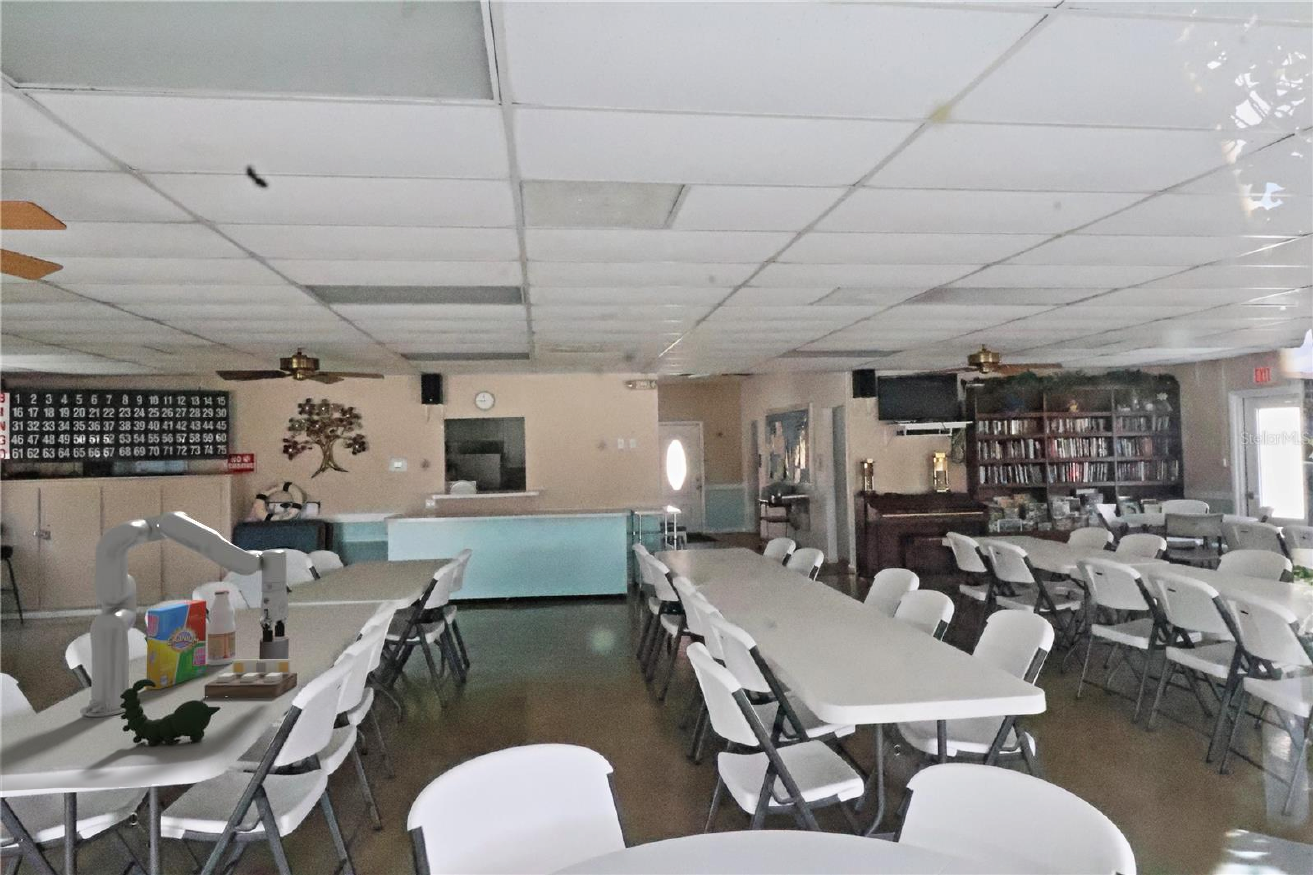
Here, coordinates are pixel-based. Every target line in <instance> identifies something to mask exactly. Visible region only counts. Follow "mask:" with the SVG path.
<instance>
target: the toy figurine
mask: <svg viewBox="0 0 1313 875" xmlns="http://www.w3.org/2000/svg"><path fill="white" fill-rule="evenodd" d="M146 686H152V687H156V684H155V683H154V682H153V681H151V680H149V679H146V678H144V679H139V680H137V681H136V682H134V683H133V685H132V687H130V688H129V689H127V690H126V691H125V692H124V693H123V694H121V696H120V698H122V699H124V700H125V701H124V703H122V704H121V705H120V707H121V708H125V709H126V712H124V713H123V714H121V716H120V719H121V720H127V724H125V725H124V726H123V727H122V731H123V732H125V733H127V732H129V731H133V732H134V733H135V737H133V738H132V742H133V743H134V744H140V742H142V741H143V740H146V741H147V744H148V746H149V747H151V746H152V747H155V746H156V745H157V742H158V743H159V742H163V743H164V744H165V745H171V744H172V743H174V742H175V739H179V738H181V737H189V739H190V740H189V741H191V742H193V743H197V742H200V741H201V740H202V739H203V738H204V736H205V731H204V730H205V729H207V727H208V726H209V724H210V722H211V718H212V716H214V714H216V713H217V712H218V711H220V710H221V707H220V706H209V705H208V704H207V703H206V702H203V701H201V700H196V699H194V700H193V699H192V700H187V701H185V702H184V703H182V704H180V705H179V706H178V707H177V708H176V709H175V710H174V711H173V713H170V714H167V715H165V716H164V717H163V718H156V719H154V720H153V719H148V716H147V715H146V714H144V708H143V707H142V706H141V699H140V697H139V696H138V695H139V692H140V691H141V690H142V689H144V688H146ZM155 744H156V745H155ZM154 745H155V746H154Z"/></svg>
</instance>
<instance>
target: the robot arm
mask: <svg viewBox="0 0 1313 875" xmlns="http://www.w3.org/2000/svg"><path fill="white" fill-rule="evenodd" d="M167 539H168V540H170V541H172V542H174V543H177V544H179V545H181V546H183V547H185V548H187V549H189V550H191V551H194V552H196V553H197V554H199V555H200V556H202V557H204V558H206V559H208V560H210V561H211V562H213V563H215V564H217V565H219V566H220V567H222V568H225V569H226V570H229V571H230V572H233V573H234V574H237V575H240V576H244V577H245V576H251V575H253V574H255V573H256V572H260V571H261V592H262V594H261V601H260V602H261V603H260V619H259V624H260V627H261V631H262V638H263V642H273V636H275V637H284V636H286V633H285V629H286V628H285V626H286V620H287V617H288V616H289V598H288V592H287V591H288V590H287V552H286V551H285V550H283V549H271V550H269V549H268V550H244V549H242V548H240V547H238V546H236V545H234V544H233V543H231V542H229V541H228V540H227V539H225V538H224V537H223V536H222V535H221V534H220V533H219V532H218V531H216V530H214V529H212V528H211V527H208V526H206V525H204V524H202V523H201V522H198V521H197V520H194V519H192V518H191V517H190V516H189V515H188V514H187V512H184V511H182V510H181V511H180V510H175V511H173V510H172V511H170V512H165V513H162V514H157V515H151V516H146V517H141V518H135V519H130V520H127V521H123V522H121V523H118V524H116V525H114V526H113V527H110V528H109V529H107V530H106V531H105V532H104V533H103V534H102V535H101V536H100V537H99V539H98V541H97V543H96V547H95V554H94V578H93V580H94V583H93V584H94V585H93V586H94V587H93V597H94V600H95V601H96V602H97V603H98V604H100V605H101V612H100V613H99V614H98V615H97V616H95V618H93V621H92V622H91V624H90V629H89V637H90V646H91V647H90V648H91V692H90V693H91V697H90V698H91V700H89V701H88V702H89V704H88V706H87V705H86V706H85V707H82V708H81V709H80V710H79V711H80V714H81V715H85V716H86V717H91V718H100V717H101V718H102V717H108V716H109V717H110V716H115V715H118V714H122V713H123V714H124V713H125V712H126V709H125V708H121V707H120V705H121V704H122V703H124V701H125V700H124V699H122V698H120V696H121V694H123V693H124V692H125V691H126V690H127V689H129V687H130V686H129V682H130V678H129V677H130V676H129V675H130V669H129V668H130V658H129V657H130V645H129V635H128V633H129V631H130V630H131V629H132V628H133V627H134V625H135V623H136V619H137V583H136V581H135V578H134V577H133V576H132V575H131V574H129V573H128V572H129V571H128V570H129V569H128V566H129V562H128V561H129V560H128V559H129V558H128V552H129V550H130V549H131V548H132V549H133V548H135V547H138V546H140V545H145V544H147V543H153V542H157V541H163V540H167ZM274 622H275V625H274ZM273 625H274V630H273Z"/></svg>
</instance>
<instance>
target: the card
mask: <svg viewBox="0 0 1313 875" xmlns="http://www.w3.org/2000/svg"><path fill="white" fill-rule="evenodd" d="M232 673H236V675H238V674H247V673H259V674H270V673H283V674H290V673H291V658H289V659H259V658H258V659H253V658H252V659H235V660H233V662H232Z"/></svg>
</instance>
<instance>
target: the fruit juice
mask: <svg viewBox="0 0 1313 875" xmlns="http://www.w3.org/2000/svg"><path fill="white" fill-rule="evenodd" d="M229 595H230V590H229V589H219V590H215V591H214V596H215V598H214V601H213V603H212V605H211V608H210V609H209V611H208V620H209V623H208V626H207V664H208V665H209V666H223V665H224V666H225V665H228V664H233V660H236V632H237V631H236V628H237V627H236V623H235V616H236V610H235V608H234V606H233V604H232V602H231V599H230V597H229Z"/></svg>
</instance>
